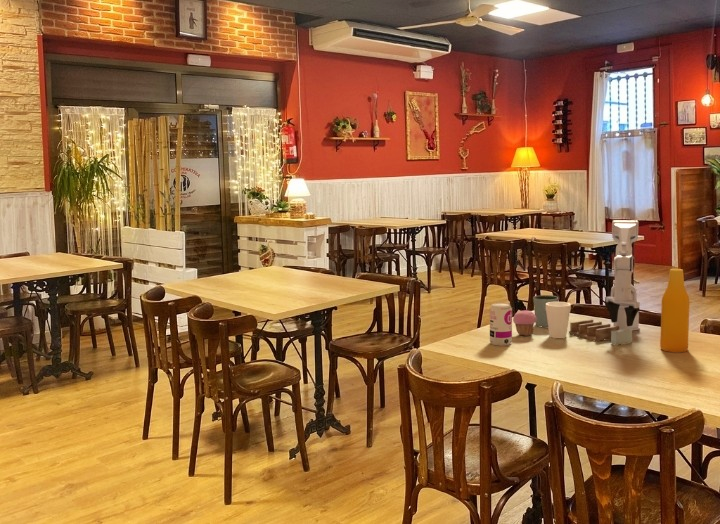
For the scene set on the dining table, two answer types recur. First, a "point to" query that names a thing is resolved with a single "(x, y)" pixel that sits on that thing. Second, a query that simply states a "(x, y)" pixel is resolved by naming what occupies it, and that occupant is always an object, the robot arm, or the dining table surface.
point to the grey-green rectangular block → (621, 336)
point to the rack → (592, 329)
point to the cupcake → (524, 322)
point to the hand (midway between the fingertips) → (621, 324)
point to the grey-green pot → (542, 308)
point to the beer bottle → (675, 314)
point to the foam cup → (558, 318)
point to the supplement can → (500, 324)
